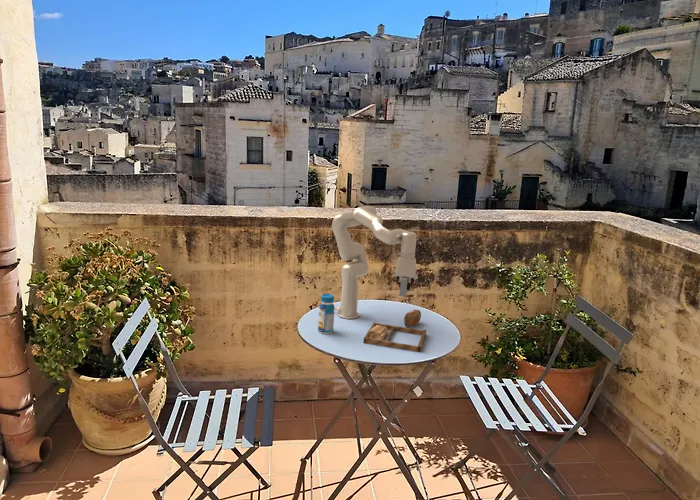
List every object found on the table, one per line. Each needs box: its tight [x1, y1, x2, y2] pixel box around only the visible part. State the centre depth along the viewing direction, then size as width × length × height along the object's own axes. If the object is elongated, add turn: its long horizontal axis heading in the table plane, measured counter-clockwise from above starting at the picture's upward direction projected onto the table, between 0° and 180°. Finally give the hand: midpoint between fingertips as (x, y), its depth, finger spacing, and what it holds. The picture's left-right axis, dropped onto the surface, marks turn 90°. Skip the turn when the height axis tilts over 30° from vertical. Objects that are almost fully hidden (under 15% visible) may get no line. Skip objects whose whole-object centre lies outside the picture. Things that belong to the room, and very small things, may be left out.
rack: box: [362, 322, 427, 353], centre depth 283 cm, size 29×24×3 cm
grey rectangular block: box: [398, 277, 410, 297], centre depth 286 cm, size 3×12×9 cm, turn 165°
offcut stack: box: [368, 325, 389, 341], centre depth 285 cm, size 7×13×5 cm, turn 161°
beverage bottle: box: [317, 293, 335, 335], centre depth 285 cm, size 8×8×20 cm
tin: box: [403, 309, 422, 328], centre depth 304 cm, size 15×3×8 cm, turn 143°
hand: (404, 288), depth 286 cm, fingers closed on grey rectangular block, 3 cm apart
